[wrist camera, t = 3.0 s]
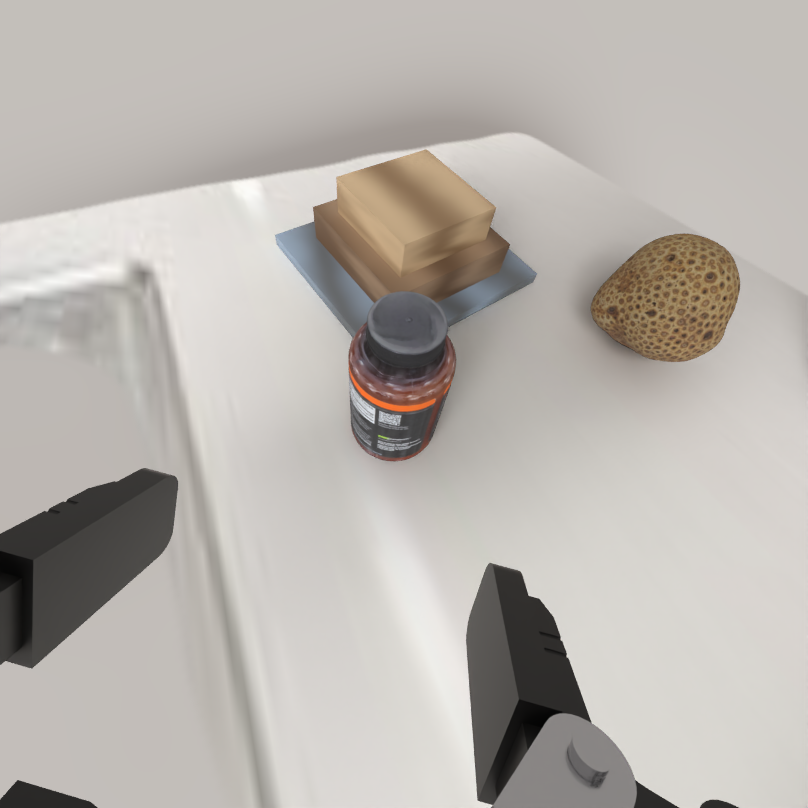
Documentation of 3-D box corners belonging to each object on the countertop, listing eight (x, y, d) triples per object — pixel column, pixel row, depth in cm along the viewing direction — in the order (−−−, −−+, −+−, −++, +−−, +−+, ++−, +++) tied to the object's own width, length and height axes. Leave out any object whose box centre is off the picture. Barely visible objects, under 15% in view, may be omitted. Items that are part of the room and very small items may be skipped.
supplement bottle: (416, 382, 31) (444, 267, 22) (445, 451, 29) (491, 354, 19) (340, 401, 30) (333, 286, 20) (363, 475, 27) (368, 383, 17)
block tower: (429, 190, 44) (441, 118, 38) (533, 281, 38) (566, 215, 32) (276, 244, 37) (262, 168, 31) (375, 365, 32) (380, 300, 26)
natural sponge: (700, 375, 35) (814, 288, 26) (616, 399, 33) (710, 313, 24) (638, 298, 39) (719, 202, 30) (559, 315, 37) (622, 216, 28)
